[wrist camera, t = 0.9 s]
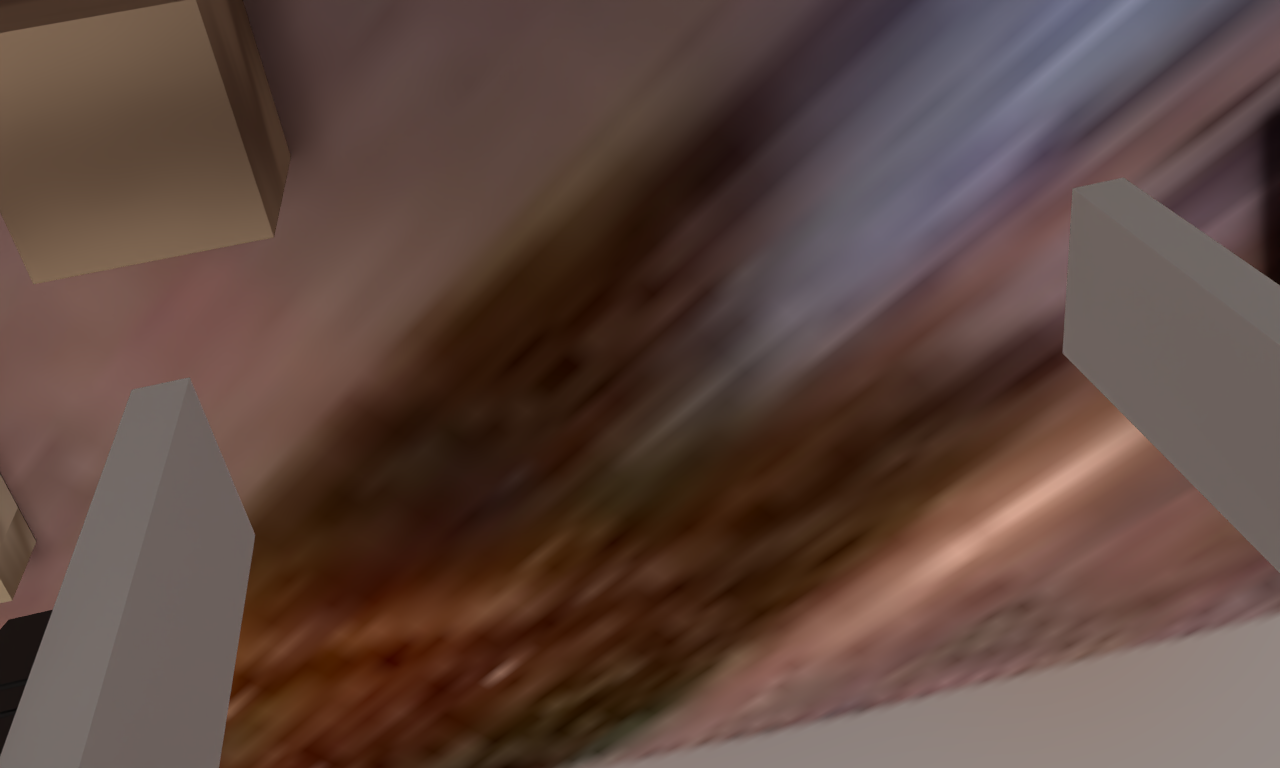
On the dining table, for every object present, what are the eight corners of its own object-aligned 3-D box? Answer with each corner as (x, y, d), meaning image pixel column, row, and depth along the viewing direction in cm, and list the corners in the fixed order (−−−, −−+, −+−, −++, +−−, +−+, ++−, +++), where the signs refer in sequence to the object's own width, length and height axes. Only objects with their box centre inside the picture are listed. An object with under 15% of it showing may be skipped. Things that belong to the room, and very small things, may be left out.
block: (-1, -14, 31) (-76, 46, 26) (226, -53, 32) (195, -2, 27) (86, 194, 34) (33, 284, 29) (290, 156, 35) (273, 237, 30)
